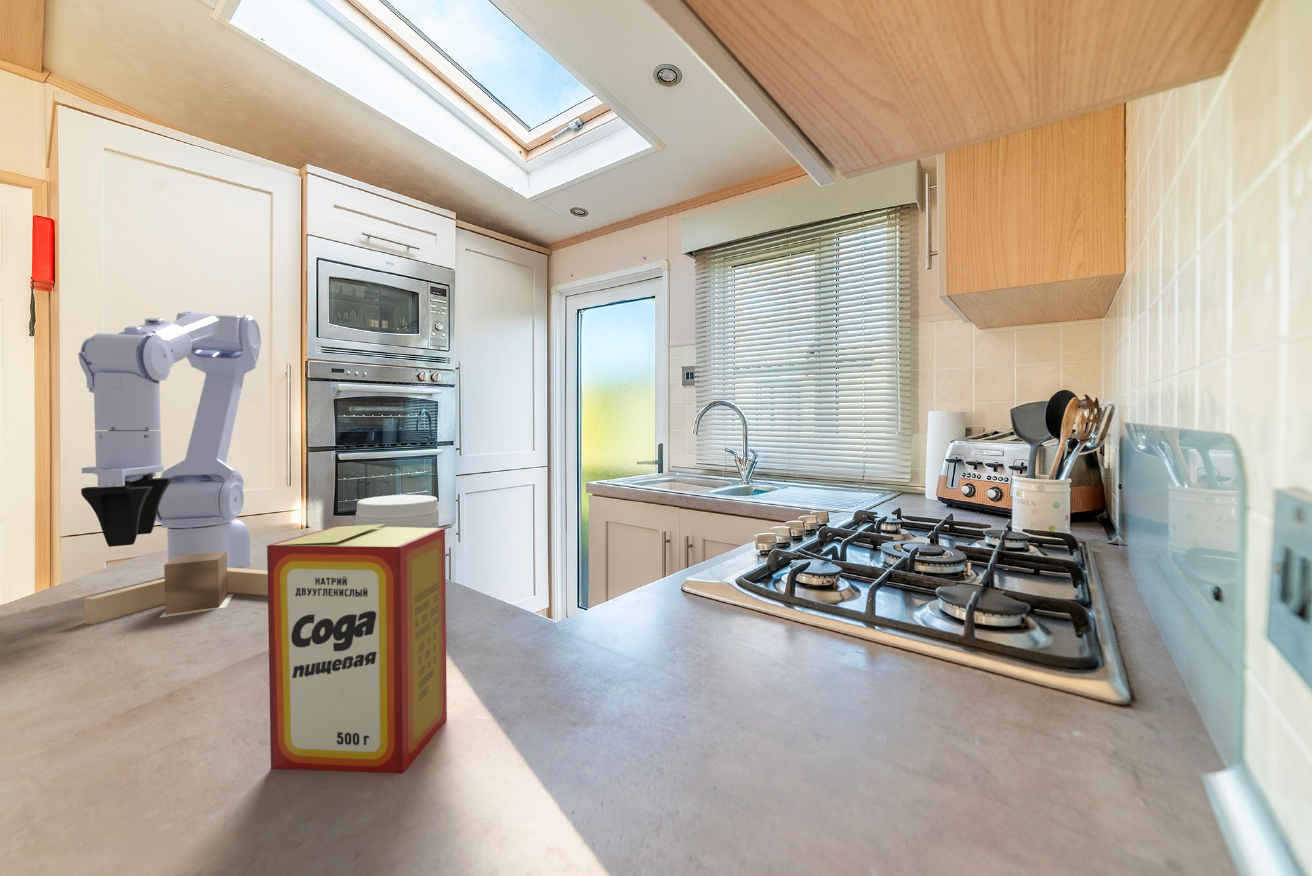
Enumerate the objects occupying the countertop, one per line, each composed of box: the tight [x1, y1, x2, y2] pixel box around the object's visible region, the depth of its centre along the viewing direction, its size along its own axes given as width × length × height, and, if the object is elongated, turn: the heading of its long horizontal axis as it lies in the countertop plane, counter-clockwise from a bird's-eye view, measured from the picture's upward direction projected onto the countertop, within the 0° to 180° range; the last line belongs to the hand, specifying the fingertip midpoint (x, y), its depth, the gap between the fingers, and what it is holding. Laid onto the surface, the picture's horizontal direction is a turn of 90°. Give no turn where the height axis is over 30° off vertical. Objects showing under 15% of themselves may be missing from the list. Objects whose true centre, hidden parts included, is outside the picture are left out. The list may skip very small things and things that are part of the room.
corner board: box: [83, 567, 268, 625], centre depth 64 cm, size 14×19×4 cm
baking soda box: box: [266, 524, 448, 774], centre depth 39 cm, size 10×6×16 cm
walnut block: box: [163, 551, 229, 615], centre depth 65 cm, size 5×5×6 cm
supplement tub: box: [354, 494, 440, 528], centre depth 66 cm, size 10×10×15 cm
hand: (131, 539), depth 64 cm, fingers open, 7 cm apart
